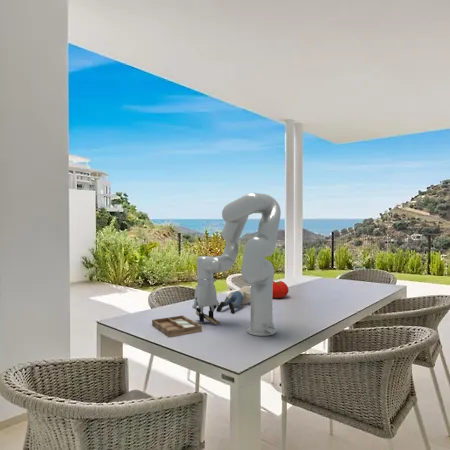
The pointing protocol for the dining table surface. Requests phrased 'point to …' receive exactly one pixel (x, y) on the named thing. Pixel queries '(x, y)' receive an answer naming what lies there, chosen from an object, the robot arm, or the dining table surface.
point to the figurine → (209, 318)
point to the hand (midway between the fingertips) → (206, 320)
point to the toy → (236, 299)
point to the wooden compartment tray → (176, 326)
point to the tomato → (279, 289)
